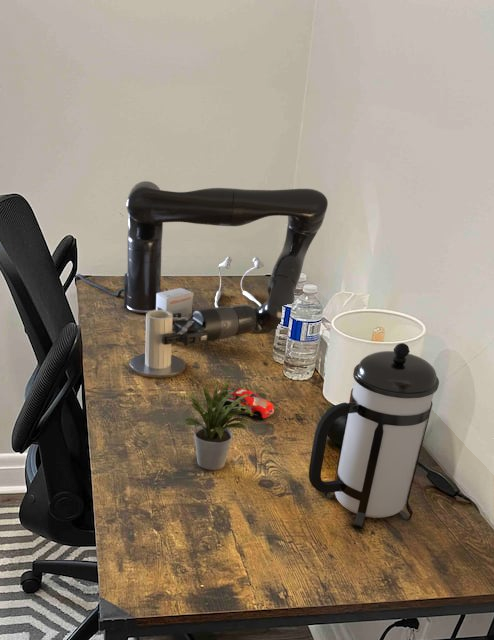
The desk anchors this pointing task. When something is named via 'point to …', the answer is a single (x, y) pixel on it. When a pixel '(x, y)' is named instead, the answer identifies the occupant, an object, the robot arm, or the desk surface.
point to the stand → (142, 369)
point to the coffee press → (378, 434)
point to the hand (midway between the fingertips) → (153, 333)
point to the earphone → (227, 265)
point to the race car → (250, 403)
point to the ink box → (175, 302)
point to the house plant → (215, 427)
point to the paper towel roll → (158, 339)
